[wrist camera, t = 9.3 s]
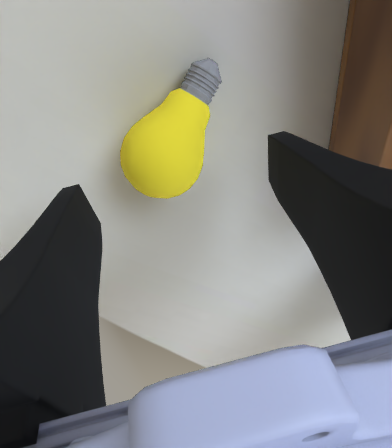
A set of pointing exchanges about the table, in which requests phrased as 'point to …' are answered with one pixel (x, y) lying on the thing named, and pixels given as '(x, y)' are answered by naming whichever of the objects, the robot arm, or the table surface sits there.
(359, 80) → the tray
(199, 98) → the light bulb
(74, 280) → the robot arm
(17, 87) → the table surface
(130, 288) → the table surface
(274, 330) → the table surface
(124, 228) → the table surface
